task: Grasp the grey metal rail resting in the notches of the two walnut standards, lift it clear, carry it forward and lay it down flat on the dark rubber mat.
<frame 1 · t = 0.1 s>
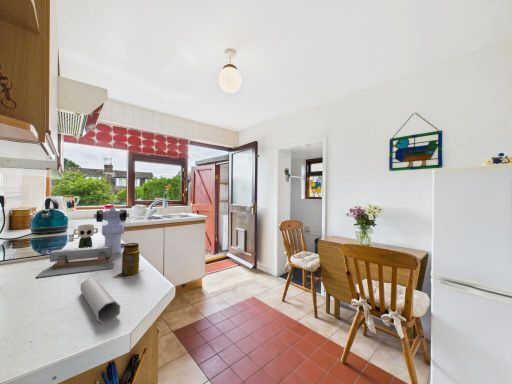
hand: (110, 216, 99), 22 cm above the worktop, tool horizontal, fingers open, 7 cm apart
rail stand: (83, 263, 97), on the worktop
mat: (78, 269, 89), on the worktop
character mug: (85, 248, 122), on the worktop
tube: (96, 305, 63), on the worktop
condiment: (128, 274, 86), on the worktop
rail: (83, 257, 97), point 2 cm above the worktop, touching rail stand
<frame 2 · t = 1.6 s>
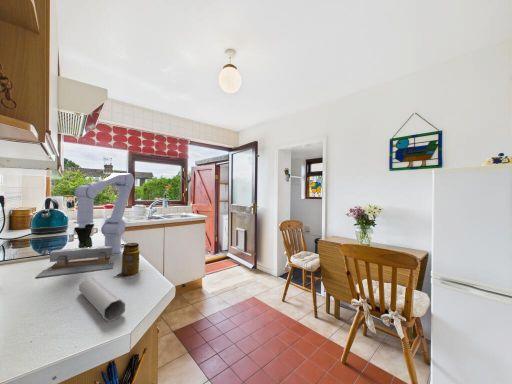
hand: (84, 241, 97), 10 cm above the worktop, tool pointing down, fingers open, 7 cm apart
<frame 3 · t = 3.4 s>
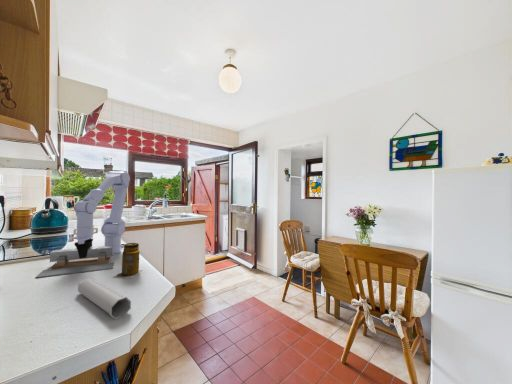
hand: (83, 256, 97), 3 cm above the worktop, tool pointing down, fingers closed on rail, 4 cm apart
rail: (83, 257, 97), point 2 cm above the worktop, touching gripper, rail stand
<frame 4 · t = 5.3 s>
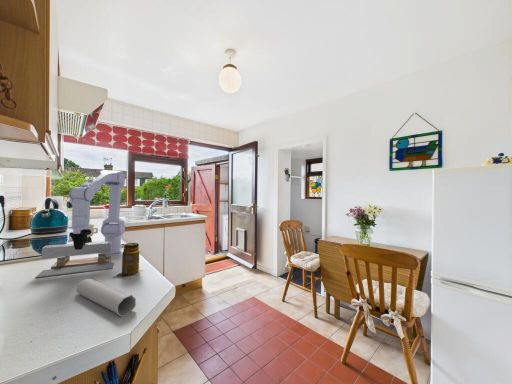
hand: (79, 248, 89), 9 cm above the worktop, tool pointing down, fingers closed on rail, 4 cm apart
rail: (79, 253, 89), point 7 cm above the worktop, touching gripper
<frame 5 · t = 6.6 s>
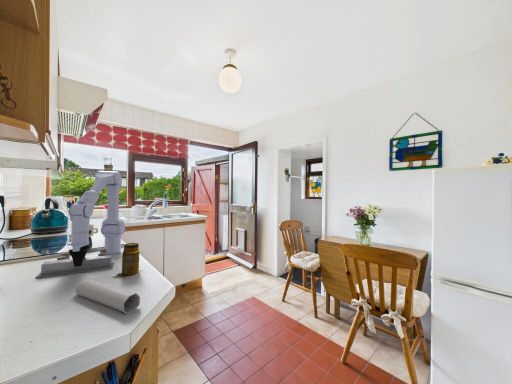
hand: (79, 264, 89), 2 cm above the worktop, tool pointing down, fingers closed on rail, 4 cm apart
rail: (78, 268, 89), resting on mat, touching gripper
when the fingers open (2 cm above the worktop, at t = 7.3 s): rail stays where it is, resting on mat.
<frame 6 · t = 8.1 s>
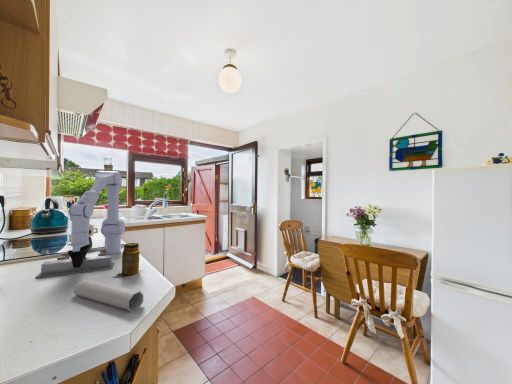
hand: (79, 264, 89), 2 cm above the worktop, tool pointing down, fingers open, 7 cm apart
rail: (78, 268, 89), resting on mat
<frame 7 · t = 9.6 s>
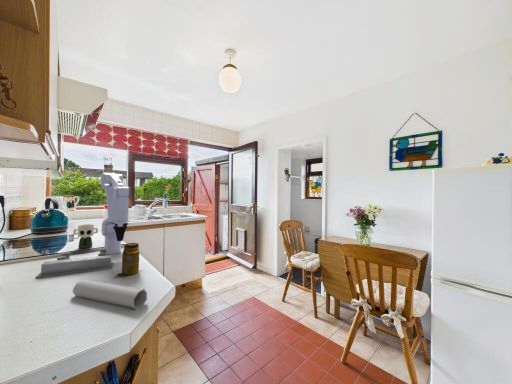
hand: (120, 239, 103), 10 cm above the worktop, tool pointing down, fingers open, 7 cm apart
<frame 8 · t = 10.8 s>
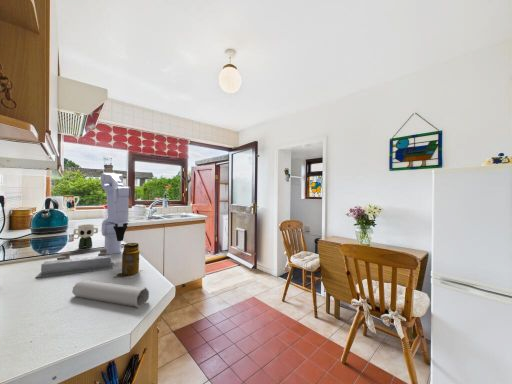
hand: (120, 239, 103), 10 cm above the worktop, tool pointing down, fingers open, 7 cm apart
at the end: rail inside the target area on the mat (0.0 cm from its centre), point 0.4 cm above the mat's base; rail touching mat; the gripper is holding nothing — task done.
